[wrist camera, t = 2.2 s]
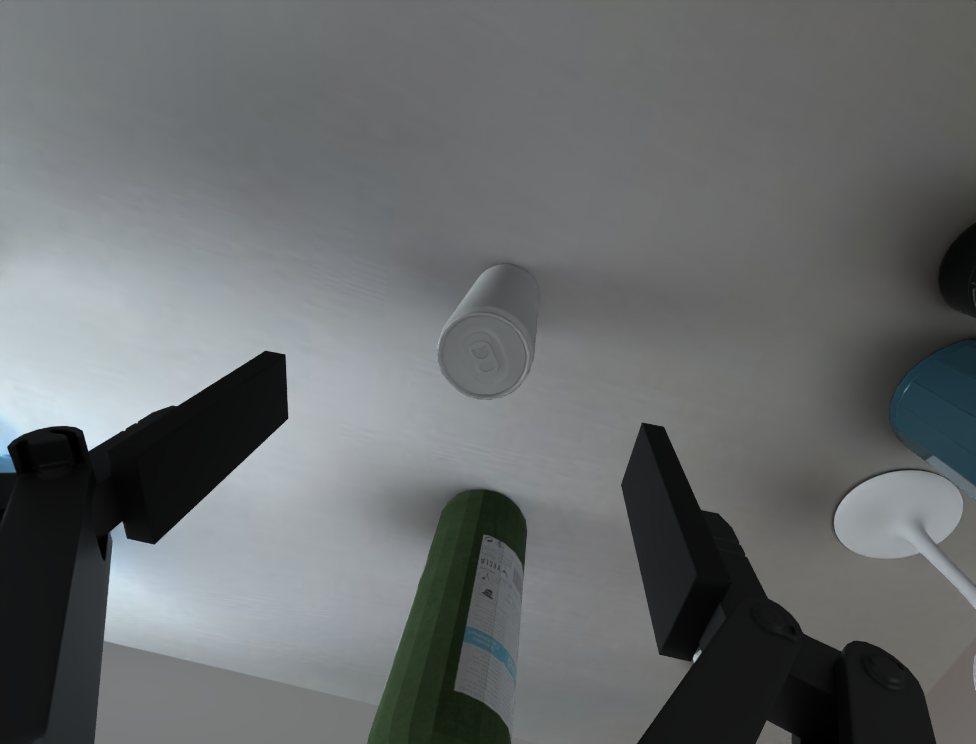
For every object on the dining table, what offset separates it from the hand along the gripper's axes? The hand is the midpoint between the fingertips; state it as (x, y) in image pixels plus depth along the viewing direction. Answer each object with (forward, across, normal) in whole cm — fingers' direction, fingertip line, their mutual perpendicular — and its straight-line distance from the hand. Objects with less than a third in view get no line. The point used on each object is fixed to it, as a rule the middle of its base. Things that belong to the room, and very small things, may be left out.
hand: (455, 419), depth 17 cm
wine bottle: (+18, +2, -21) cm, 28 cm away
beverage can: (+18, 0, 0) cm, 18 cm away
